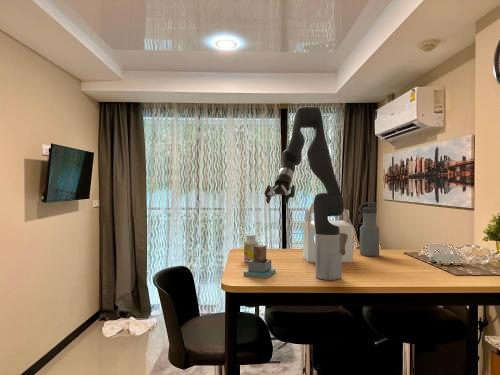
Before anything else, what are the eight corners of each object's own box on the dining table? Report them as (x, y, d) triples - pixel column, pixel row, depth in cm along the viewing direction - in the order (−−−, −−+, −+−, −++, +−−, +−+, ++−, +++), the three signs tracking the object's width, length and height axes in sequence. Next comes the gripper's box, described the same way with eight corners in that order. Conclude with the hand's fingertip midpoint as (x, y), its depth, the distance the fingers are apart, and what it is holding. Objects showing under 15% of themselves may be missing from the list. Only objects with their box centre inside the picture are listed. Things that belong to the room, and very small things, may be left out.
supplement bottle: (242, 260, 163) (242, 234, 163) (255, 259, 165) (255, 233, 165) (246, 263, 157) (246, 235, 157) (259, 262, 159) (259, 235, 159)
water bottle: (355, 254, 178) (355, 202, 178) (364, 252, 185) (364, 201, 185) (373, 257, 171) (373, 202, 171) (382, 255, 177) (382, 202, 178)
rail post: (266, 269, 138) (266, 245, 138) (262, 271, 134) (262, 247, 134) (257, 268, 139) (257, 244, 139) (253, 270, 136) (253, 246, 136)
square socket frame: (271, 269, 138) (271, 259, 138) (264, 273, 132) (264, 263, 132) (255, 267, 141) (255, 258, 141) (248, 271, 135) (248, 261, 135)
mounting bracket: (458, 268, 156) (454, 245, 161) (464, 265, 151) (459, 242, 155) (430, 267, 158) (427, 244, 163) (435, 264, 153) (431, 241, 157)
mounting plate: (275, 272, 139) (275, 268, 139) (266, 278, 130) (266, 274, 130) (253, 270, 143) (253, 266, 143) (243, 275, 134) (243, 271, 134)
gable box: (307, 262, 159) (307, 203, 159) (302, 257, 172) (302, 202, 172) (353, 262, 159) (353, 203, 160) (345, 256, 172) (345, 202, 173)
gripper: (269, 173, 166) (259, 196, 155) (296, 172, 160) (289, 197, 149) (272, 184, 171) (264, 207, 160) (299, 184, 165) (292, 208, 154)
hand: (276, 202), depth 155 cm, fingers open, 8 cm apart
